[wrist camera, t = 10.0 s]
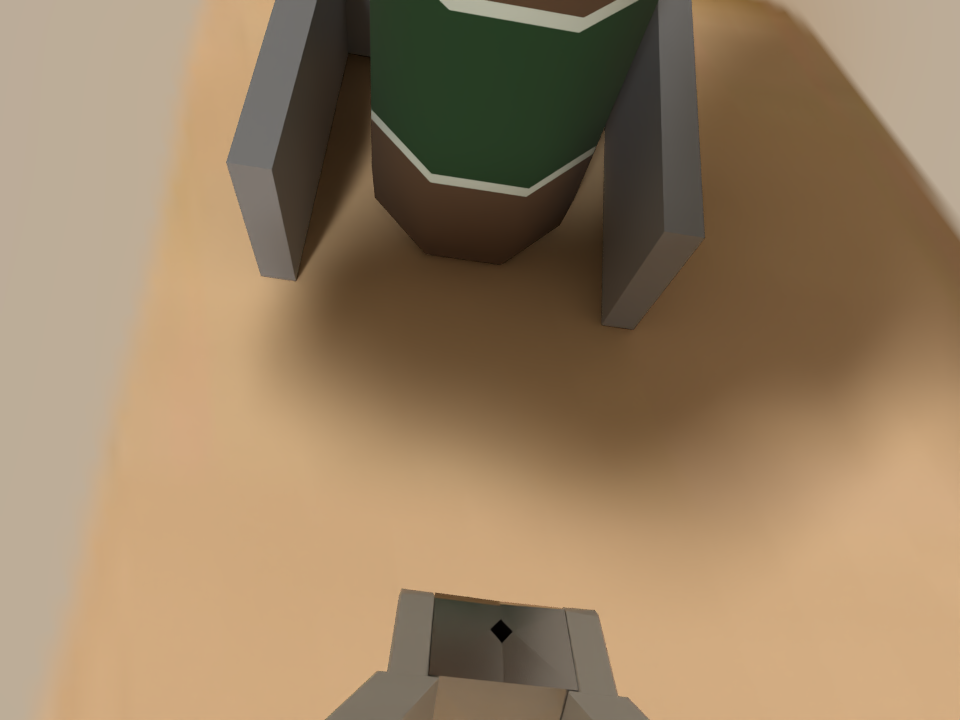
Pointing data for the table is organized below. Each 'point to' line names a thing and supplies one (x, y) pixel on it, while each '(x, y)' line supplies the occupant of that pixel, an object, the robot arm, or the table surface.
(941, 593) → the table surface
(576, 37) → the beer bottle
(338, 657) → the table surface
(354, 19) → the bottle stall
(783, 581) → the table surface
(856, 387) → the table surface
